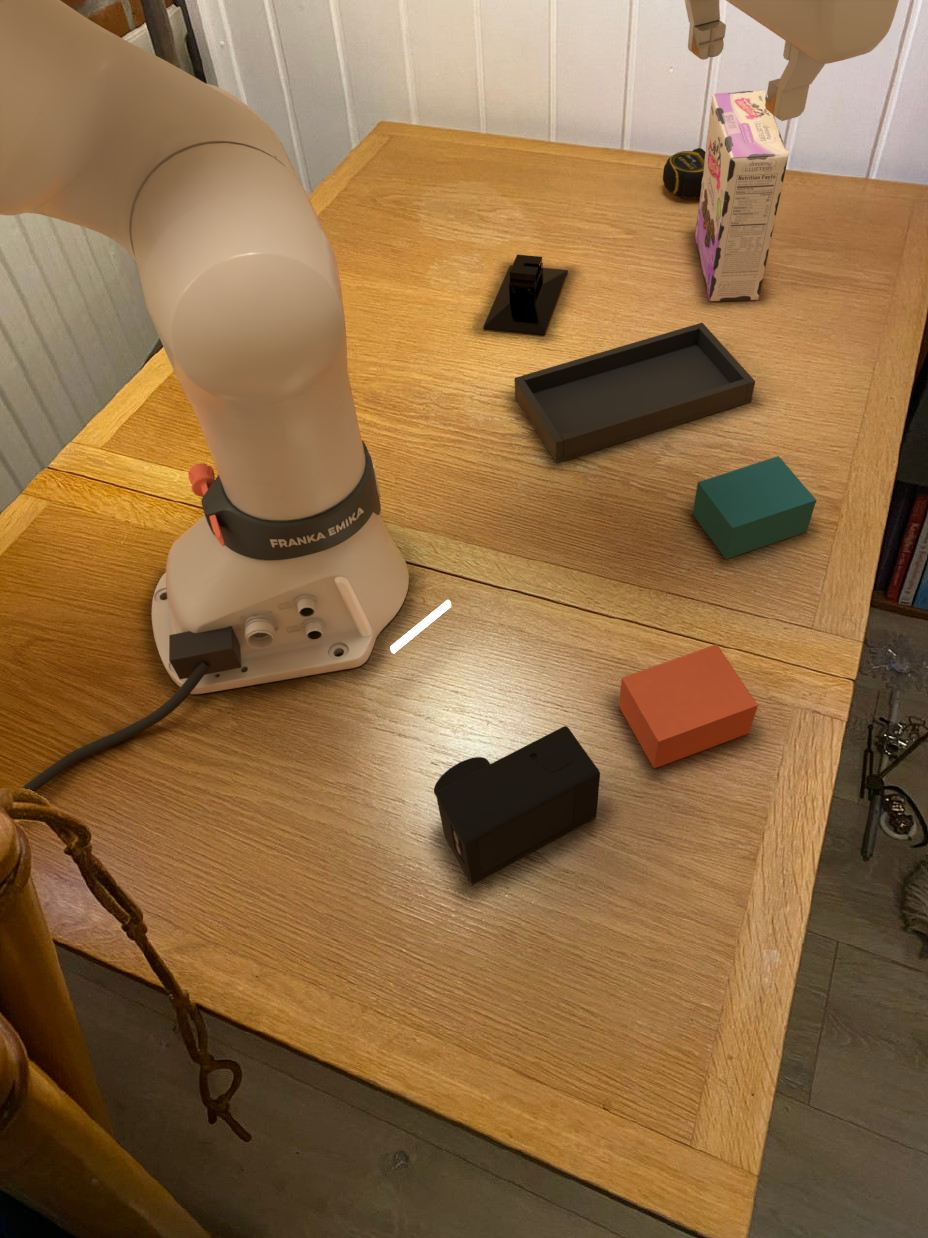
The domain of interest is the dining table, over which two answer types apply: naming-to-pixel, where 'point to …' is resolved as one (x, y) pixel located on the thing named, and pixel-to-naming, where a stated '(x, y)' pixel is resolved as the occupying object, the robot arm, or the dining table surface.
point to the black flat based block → (526, 298)
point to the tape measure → (685, 173)
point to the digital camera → (516, 802)
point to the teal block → (753, 507)
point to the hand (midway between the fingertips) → (742, 82)
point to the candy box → (739, 195)
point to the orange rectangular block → (686, 705)
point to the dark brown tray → (632, 391)
